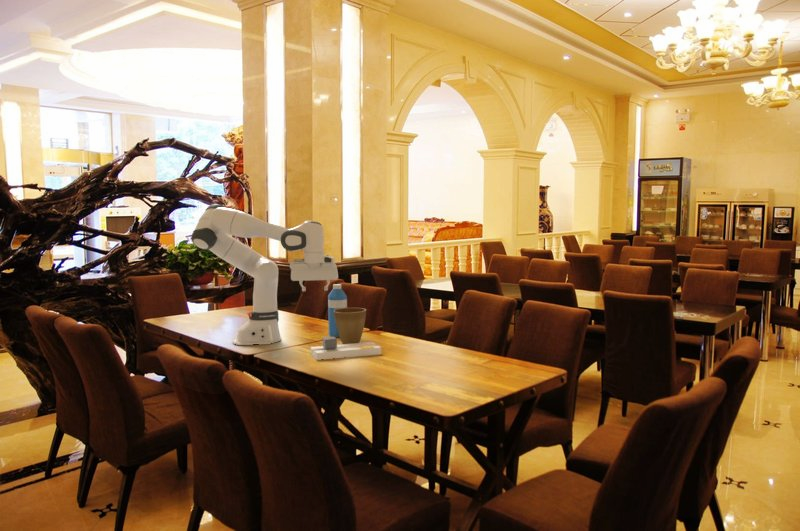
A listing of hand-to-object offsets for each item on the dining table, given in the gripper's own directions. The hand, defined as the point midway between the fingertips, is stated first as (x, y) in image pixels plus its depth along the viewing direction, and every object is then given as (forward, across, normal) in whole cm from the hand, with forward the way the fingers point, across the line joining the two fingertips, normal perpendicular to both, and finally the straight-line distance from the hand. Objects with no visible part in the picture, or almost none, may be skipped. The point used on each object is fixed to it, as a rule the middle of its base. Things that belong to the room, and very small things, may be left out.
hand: (315, 290), depth 267 cm
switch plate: (+27, +12, -5) cm, 30 cm away
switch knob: (+25, +6, -7) cm, 27 cm away
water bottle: (+27, +10, +36) cm, 46 cm away
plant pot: (+27, +15, +14) cm, 34 cm away
